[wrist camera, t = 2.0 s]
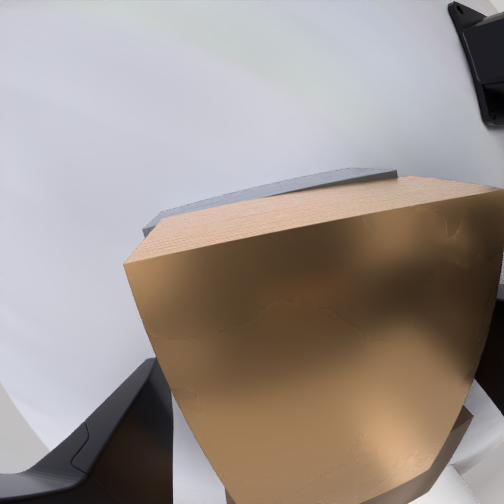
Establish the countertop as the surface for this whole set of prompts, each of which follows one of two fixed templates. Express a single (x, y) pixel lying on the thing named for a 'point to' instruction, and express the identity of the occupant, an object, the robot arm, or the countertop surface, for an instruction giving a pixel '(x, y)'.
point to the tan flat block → (323, 330)
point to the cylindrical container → (448, 490)
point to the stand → (400, 496)
